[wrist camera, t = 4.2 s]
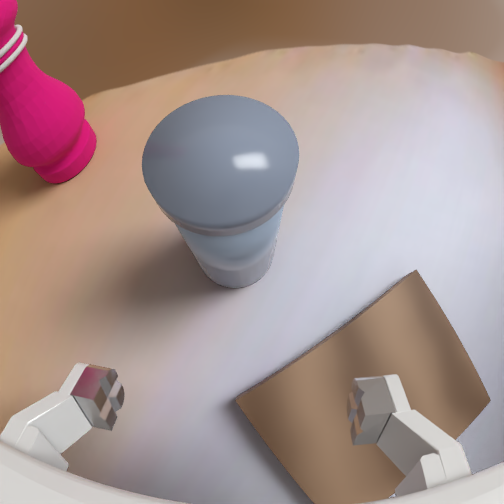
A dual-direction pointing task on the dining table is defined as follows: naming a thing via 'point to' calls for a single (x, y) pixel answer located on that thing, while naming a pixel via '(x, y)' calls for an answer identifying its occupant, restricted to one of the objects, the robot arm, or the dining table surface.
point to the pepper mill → (39, 110)
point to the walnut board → (339, 387)
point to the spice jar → (224, 182)
